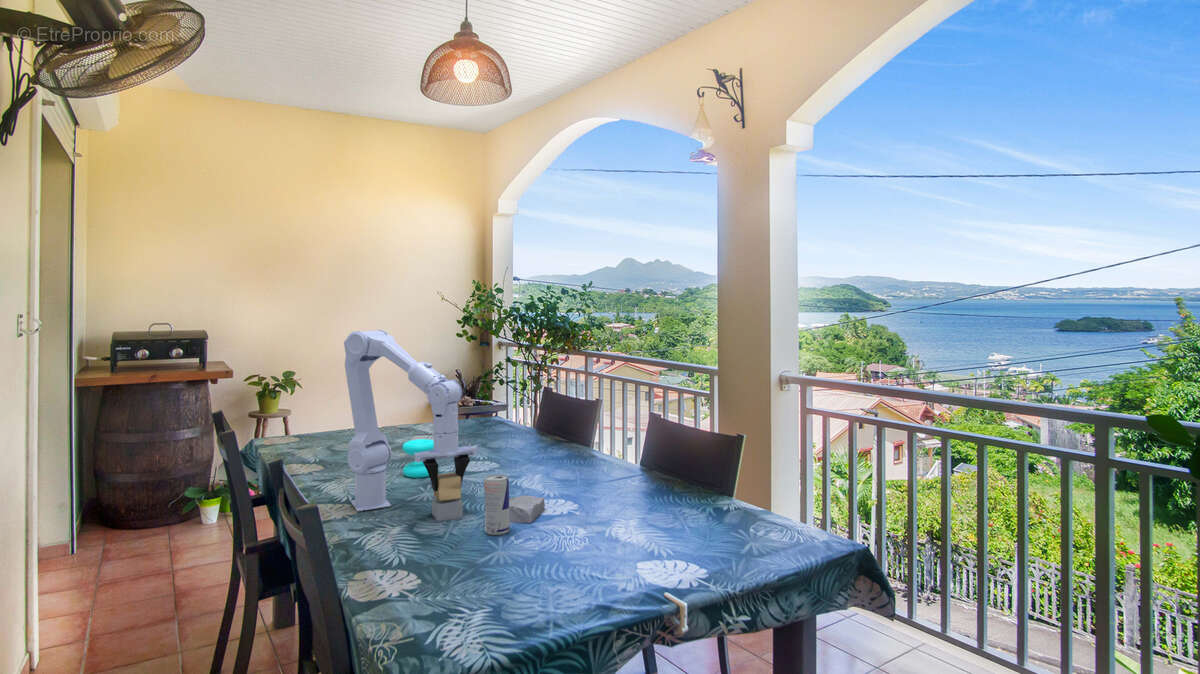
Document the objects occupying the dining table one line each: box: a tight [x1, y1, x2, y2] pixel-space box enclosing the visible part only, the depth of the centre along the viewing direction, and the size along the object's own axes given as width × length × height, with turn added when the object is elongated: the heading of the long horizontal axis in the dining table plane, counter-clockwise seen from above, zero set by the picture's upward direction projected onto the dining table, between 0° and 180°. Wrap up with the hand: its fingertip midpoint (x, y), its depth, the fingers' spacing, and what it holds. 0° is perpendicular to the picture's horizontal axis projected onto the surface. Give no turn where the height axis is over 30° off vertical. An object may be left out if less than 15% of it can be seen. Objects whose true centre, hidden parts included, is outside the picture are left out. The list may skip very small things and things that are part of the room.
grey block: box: [431, 497, 464, 522], centre depth 152 cm, size 6×6×4 cm
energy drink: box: [483, 474, 511, 536], centre depth 141 cm, size 5×5×12 cm
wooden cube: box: [433, 471, 462, 501], centre depth 152 cm, size 5×5×5 cm
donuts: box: [402, 438, 434, 479], centre depth 192 cm, size 10×10×10 cm
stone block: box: [509, 495, 546, 524], centre depth 152 cm, size 12×5×10 cm
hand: (446, 488), depth 152 cm, fingers closed on wooden cube, 5 cm apart
